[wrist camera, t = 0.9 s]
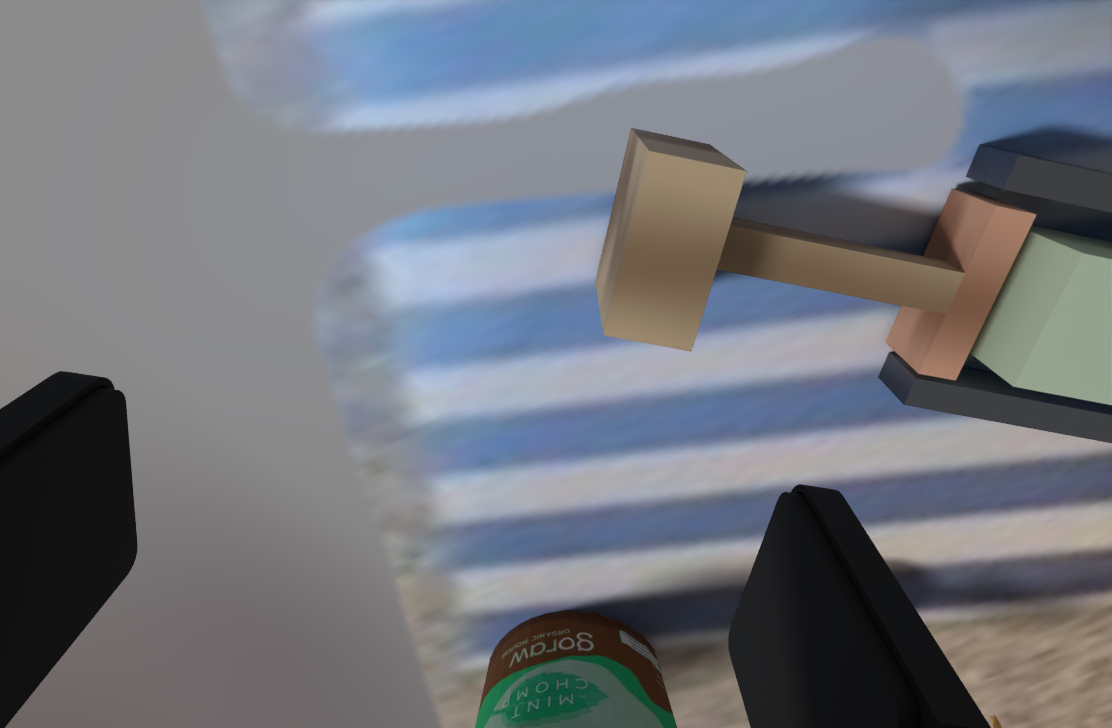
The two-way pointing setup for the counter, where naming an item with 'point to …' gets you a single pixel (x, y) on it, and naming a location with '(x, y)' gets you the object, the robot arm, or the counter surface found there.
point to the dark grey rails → (988, 390)
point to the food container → (574, 676)
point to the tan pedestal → (789, 257)
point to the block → (1054, 318)
